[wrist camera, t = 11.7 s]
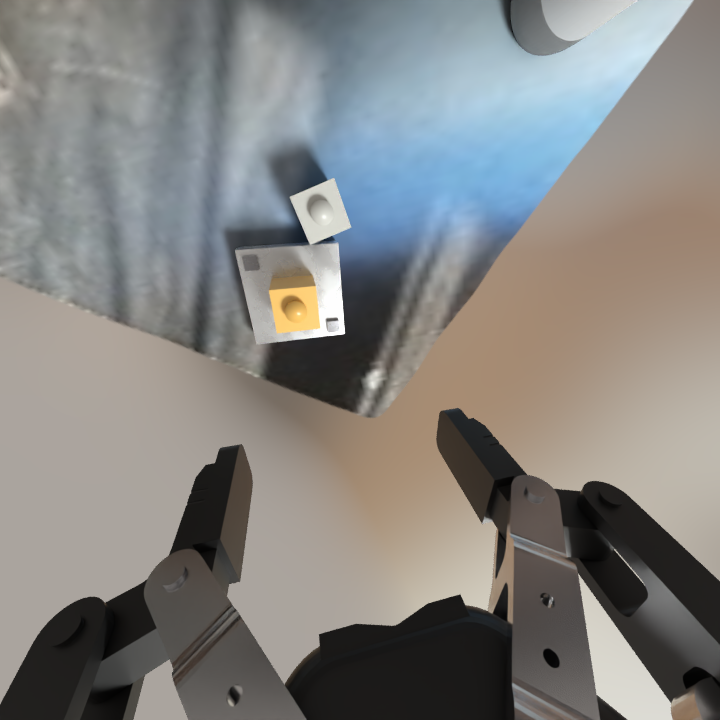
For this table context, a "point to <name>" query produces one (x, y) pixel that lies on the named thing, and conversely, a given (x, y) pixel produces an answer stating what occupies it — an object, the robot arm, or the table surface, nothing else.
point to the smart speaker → (560, 22)
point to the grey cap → (321, 211)
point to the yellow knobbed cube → (294, 303)
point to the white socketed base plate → (291, 262)
